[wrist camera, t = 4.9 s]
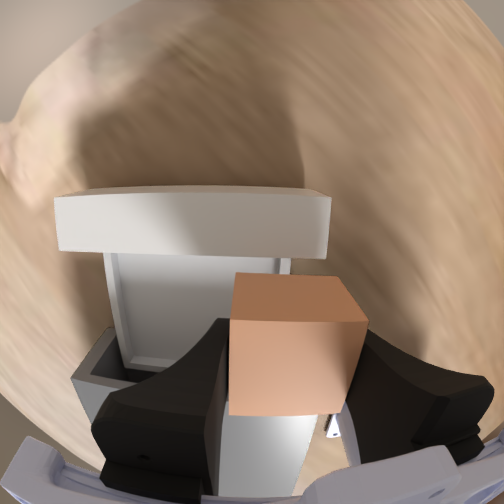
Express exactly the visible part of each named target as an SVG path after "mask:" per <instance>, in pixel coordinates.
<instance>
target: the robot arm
mask: <svg viewBox="0 0 504 504" xmlns="http://www.w3.org/2000/svg"><path fill="white" fill-rule="evenodd" d="M229 344H230V318H217V319H216V320H215V321H214V323H213V324H212V325H211V327H210V328H209V329H208V331H207V332H206V333H205V334H204V336H203V337H202V338H201V339H200V340H199V341H198V342H197V343H196V345H194V346H193V347H192V348H191V349H190V350H189V351H188V352H187V353H186V354H185V355H184V356H183V357H182V358H180V359H179V360H178V361H177V362H175V363H174V364H173V365H171V366H170V367H168V368H167V369H165V370H163V371H162V372H160V373H158V374H157V375H155V376H153V377H151V378H149V379H147V380H144V381H142V382H140V383H137V384H135V385H132V386H129V387H126V388H123V389H120V390H117V391H113V392H110V393H109V395H108V396H107V398H106V399H105V400H104V402H103V403H102V405H101V407H100V409H99V411H98V413H97V415H96V417H95V419H94V421H93V423H92V425H91V432H92V435H93V437H94V439H95V441H96V443H97V445H98V446H99V448H100V450H101V452H102V453H103V455H104V457H105V458H106V461H105V464H104V466H103V469H102V472H101V474H99V473H96V472H92V471H90V470H87V469H84V468H81V467H78V466H76V465H73V464H70V463H68V462H65V460H64V458H63V457H62V455H61V454H60V453H59V452H58V451H57V450H56V449H55V448H53V447H52V446H50V445H48V444H45V443H43V442H41V441H39V440H36V439H35V438H32V437H30V436H27V437H26V438H25V440H24V441H23V443H22V444H21V446H20V448H19V449H18V451H17V453H16V454H15V456H14V458H13V460H12V461H11V463H10V465H9V467H8V468H7V470H6V472H5V474H4V476H3V478H2V479H1V481H0V484H1V486H2V487H3V488H4V489H5V490H6V491H8V492H9V493H10V494H11V495H12V496H13V497H14V498H15V499H17V500H18V501H19V502H20V503H21V504H485V503H487V502H488V501H490V500H491V499H493V498H494V497H496V496H497V495H498V494H500V493H501V492H503V491H504V428H503V429H502V431H501V432H500V434H499V436H498V437H497V438H494V439H493V440H490V441H489V442H487V443H485V444H483V443H482V441H481V439H480V438H479V436H478V435H477V434H479V432H480V428H479V426H478V425H477V424H478V422H479V421H480V419H481V418H482V417H483V415H484V414H485V412H486V411H487V409H488V407H489V406H490V404H491V402H492V400H493V397H494V388H493V386H492V385H491V384H490V383H489V382H488V380H487V379H486V378H485V377H484V376H478V375H471V374H464V373H459V372H455V371H451V370H447V369H443V368H440V367H437V366H434V365H432V364H429V363H426V362H424V361H421V360H419V359H417V358H415V357H413V356H411V355H409V354H407V353H405V352H403V351H401V350H400V349H398V348H396V347H394V346H393V345H391V344H390V343H388V342H386V341H385V340H383V339H382V338H380V337H379V336H377V335H376V334H374V333H373V332H372V331H370V330H369V329H367V332H366V336H365V339H364V343H363V346H362V350H361V353H360V357H359V360H358V363H357V366H356V369H355V373H354V376H353V379H352V382H351V385H350V388H349V390H348V393H347V396H346V399H345V402H344V404H343V407H342V410H341V412H340V413H335V414H332V416H331V419H330V422H329V425H328V428H327V431H326V437H338V436H341V439H342V442H343V445H344V449H345V452H346V456H347V459H348V463H349V466H350V467H347V468H344V469H340V470H336V471H333V472H331V473H329V474H327V475H324V476H322V477H320V478H318V479H316V480H315V481H314V482H313V483H312V484H311V485H310V486H309V487H308V488H307V489H306V490H305V491H304V493H303V495H302V496H290V497H266V498H245V497H221V496H218V494H219V471H220V452H221V436H222V424H223V416H224V411H225V406H226V400H227V395H228V389H229Z"/></svg>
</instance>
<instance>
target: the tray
mask: <svg viewBox="0 0 504 504" xmlns="http://www.w3.org/2000/svg"><path fill="white" fill-rule="evenodd" d="M331 200H332V198H331V197H329V196H327V195H324V194H322V193H320V192H317V191H315V190H312V189H302V188H283V187H260V186H220V185H174V186H135V187H112V188H95V189H89V190H84V191H80V192H75V193H71V194H67V195H63V196H59V197H55V198H54V208H55V220H56V230H57V238H58V246H59V251H75V252H103V257H104V265H105V273H106V280H107V286H108V292H109V298H110V304H111V310H112V315H113V320H114V325H115V329H116V334H117V339H118V343H119V347H120V351H121V355H122V359H123V363H124V367H125V368H131V369H138V370H145V371H153V372H162V371H163V370H165V369H167V368H168V367H170V366H171V365H173V364H174V363H175V362H177V361H178V360H179V359H180V358H182V357H183V356H184V355H185V354H186V353H187V352H188V351H189V350H190V349H191V348H192V347H193V346H194V345H196V343H197V342H198V341H199V340H200V339H201V338H202V337H203V336H204V334H205V333H206V332H207V331H208V329H209V328H210V327H211V325H212V324H213V323H214V321H215V320H216V319H217V318H230V315H231V306H232V298H233V290H234V281H235V273H236V272H243V273H265V274H289V275H290V265H291V258H298V259H326V254H327V245H328V235H329V224H330V213H331Z"/></svg>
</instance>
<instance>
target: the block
mask: <svg viewBox="0 0 504 504" xmlns="http://www.w3.org/2000/svg"><path fill="white" fill-rule="evenodd" d="M368 325H369V320H368V318H367V317H366V316H365V314H364V313H363V311H362V310H361V308H360V307H359V306H358V304H357V303H356V301H355V300H354V299H353V297H352V296H351V294H350V293H349V292H348V290H347V289H346V287H345V286H344V285H343V283H342V282H341V281H340V279H339V278H338V276H317V275H289V274H265V273H243V272H236V273H235V281H234V290H233V298H232V306H231V315H230V344H229V415H236V416H305V415H322V414H335V413H340V412H341V410H342V407H343V404H344V402H345V399H346V396H347V393H348V390H349V388H350V385H351V382H352V379H353V376H354V373H355V369H356V366H357V363H358V360H359V357H360V353H361V350H362V346H363V343H364V339H365V336H366V332H367V328H368Z"/></svg>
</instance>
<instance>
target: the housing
mask: <svg viewBox="0 0 504 504" xmlns="http://www.w3.org/2000/svg"><path fill="white" fill-rule="evenodd" d="M158 373H160V372H153V371H145V370H138V369H131V368H125V367H124V363H123V359H122V355H121V351H120V347H119V343H118V339H117V334H116V329H115V328H107V329H106V330H105V332H104V333H103V334H102V335H101V337H100V338H99V339H98V341H97V342H96V343H95V345H94V346H93V347H92V349H91V350H90V352H89V353H88V354H87V356H86V357H85V358H84V360H83V361H82V362H81V364H80V365H79V367H78V368H77V369H76V371H75V372H74V374H73V375H72V376H71V381H72V383H73V385H74V388H75V390H76V392H77V395H78V397H79V399H80V401H81V404H82V406H83V408H84V410H85V412H86V414H87V416H88V418H89V420H90V422H91V424H92V423H93V421H94V419H95V417H96V415H97V413H98V411H99V409H100V407H101V405H102V403H103V402H104V400H105V399H106V398H107V396H108V395H109V393H110V392H113V391H117V390H120V389H123V388H126V387H129V386H132V385H135V384H137V383H140V382H142V381H144V380H147V379H149V378H151V377H153V376H155V375H157V374H158ZM317 418H318V415H305V416H236V415H229V389H228V395H227V400H226V406H225V411H224V416H223V424H222V436H221V452H220V471H219V494H218V496H221V497H245V498H266V497H290V496H291V495H292V492H293V490H294V487H295V485H296V482H297V479H298V476H299V474H300V471H301V468H302V465H303V462H304V459H305V456H306V453H307V450H308V447H309V444H310V441H311V438H312V435H313V431H314V428H315V425H316V421H317Z"/></svg>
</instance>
